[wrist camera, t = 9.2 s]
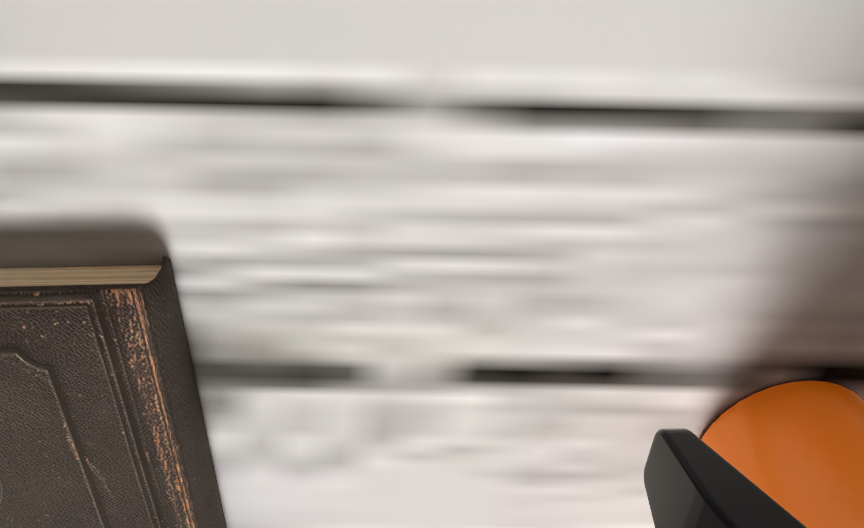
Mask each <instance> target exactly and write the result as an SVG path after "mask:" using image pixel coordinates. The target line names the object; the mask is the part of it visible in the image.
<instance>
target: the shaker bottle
mask: <svg viewBox="0 0 864 528" xmlns="http://www.w3.org/2000/svg"><path fill="white" fill-rule="evenodd" d="M701 440H702V441H703V442H704V443H706V444H707V445H708V446H709V447H710V448H712V449H713V450H714V451H715V452H716V453H718V454H719V455H720V456H721V457H722V458H724V459H725V460H726V461H727V462H728V463H730V464H731V465H732V466H733V467H735V468H736V469H737V470H738V471H739V472H741V473H742V474H743V475H744V476H745V477H747V478H748V479H749V480H750V481H751V482H753V483H754V484H755V485H756V486H757V487H759V488H760V489H761V490H762V491H763V492H765V493H766V494H767V495H768V496H769V497H771V498H772V499H773V500H774V501H776V502H777V503H778V504H779V505H780V506H782V507H783V508H784V509H785V510H786V511H788V512H789V513H790V514H791V515H792V516H794V517H795V518H796V519H797V520H798V521H800V522H801V523H802V524H803V525H804V526H806V527H807V528H864V401H863V400H862V399H861V398H860V397H859V396H858V395H857V394H856V393H855V392H853V391H851V390H849V389H847V388H845V387H843V386H841V385H838V384H834V383H830V382H826V381H811V380H808V381H797V382H789V383H785V384H781V385H777V386H772V387H770V388H767V389H764V390H762V391H759V392H757V393H754V394H752V395H750V396H748V397H747V398H745V399H743V400H741V401H739V402H738V403H736V404H735V405H733V406H732V407H731V408H729V409H728V410H726V411H725V412H724V413H723V414H722V415H721V416H720V417H719V418H718V419H716V420H715V421H714V422H713V423H712V424H711V426H710V427H709V429H708V430H707V431H706V433H705V434H704V435H703V437H702V439H701Z"/></svg>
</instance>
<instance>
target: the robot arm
mask: <svg viewBox="0 0 864 528" xmlns="http://www.w3.org/2000/svg"><path fill="white" fill-rule="evenodd" d="M644 483H645V488H646V492H647V496H648V500H649V504H650V508H651V513H652V517H653V521H654V525H655V528H807V527H806V526H804V525H803V524H802V523H801V522H800V521H798V520H797V519H796V518H795V517H794V516H792V515H791V514H790V513H789V512H788V511H786V510H785V509H784V508H783V507H782V506H780V505H779V504H778V503H777V502H776V501H774V500H773V499H772V498H771V497H769V496H768V495H767V494H766V493H765V492H763V491H762V490H761V489H760V488H759V487H757V486H756V485H755V484H754V483H753V482H751V481H750V480H749V479H748V478H747V477H745V476H744V475H743V474H742V473H741V472H739V471H738V470H737V469H736V468H735V467H733V466H732V465H731V464H730V463H728V462H727V461H726V460H725V459H724V458H722V457H721V456H720V455H719V454H718V453H716V452H715V451H714V450H713V449H712V448H710V447H709V446H708V445H707V444H706V443H704V442H703V441H702V440H701V439H700V438H698V437H697V436H696V435H695V434H694V433H692V432H691V431H689V430H687V429H661V430H659V431H658V432H657V433H656V434H655V437H654V440H653V443H652V446H651V449H650V452H649V456H648V459H647V462H646V465H645V469H644ZM1 498H2V485H1V481H0V502H1Z"/></svg>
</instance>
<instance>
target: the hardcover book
mask: <svg viewBox="0 0 864 528" xmlns="http://www.w3.org/2000/svg"><path fill="white" fill-rule="evenodd" d="M0 481H1V485H2V498H1V502H0V528H226V523H225V519H224V514H223V509H222V504H221V500H220V495H219V490H218V485H217V480H216V476H215V471H214V466H213V461H212V457H211V452H210V447H209V442H208V438H207V433H206V428H205V423H204V419H203V414H202V409H201V404H200V400H199V395H198V390H197V385H196V381H195V376H194V371H193V366H192V362H191V357H190V352H189V347H188V343H187V338H186V333H185V328H184V324H183V319H182V314H181V309H180V304H179V300H178V295H177V290H176V285H175V281H174V276H173V271H172V266H171V262H170V259H168V258H167V257H163V263H162V265H142V266H96V267H49V268H3V269H0Z"/></svg>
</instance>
